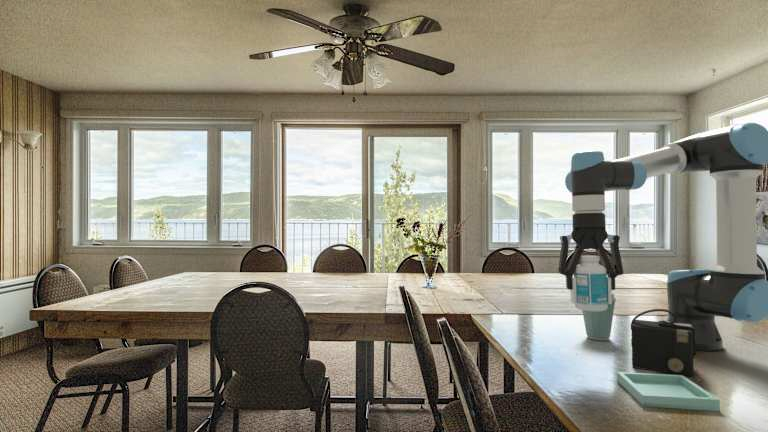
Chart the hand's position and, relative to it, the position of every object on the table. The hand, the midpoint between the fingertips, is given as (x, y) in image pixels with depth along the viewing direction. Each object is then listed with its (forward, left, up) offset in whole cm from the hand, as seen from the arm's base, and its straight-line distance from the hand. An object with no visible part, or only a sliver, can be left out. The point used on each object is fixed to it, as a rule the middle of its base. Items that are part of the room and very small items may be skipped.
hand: (590, 302), depth 107 cm
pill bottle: (0, 0, -2) cm, 2 cm away
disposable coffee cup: (-12, -34, -18) cm, 40 cm away
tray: (-11, +13, -17) cm, 24 cm away
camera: (-19, -6, -18) cm, 26 cm away
